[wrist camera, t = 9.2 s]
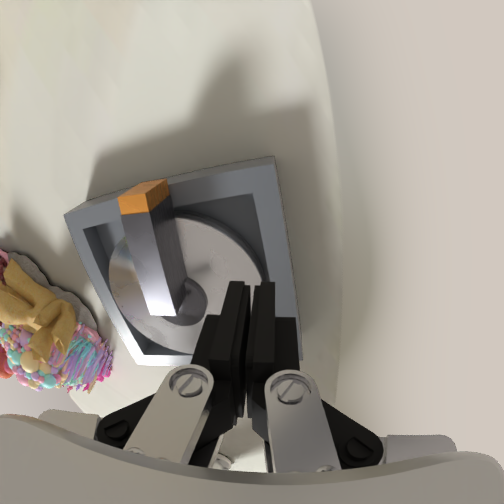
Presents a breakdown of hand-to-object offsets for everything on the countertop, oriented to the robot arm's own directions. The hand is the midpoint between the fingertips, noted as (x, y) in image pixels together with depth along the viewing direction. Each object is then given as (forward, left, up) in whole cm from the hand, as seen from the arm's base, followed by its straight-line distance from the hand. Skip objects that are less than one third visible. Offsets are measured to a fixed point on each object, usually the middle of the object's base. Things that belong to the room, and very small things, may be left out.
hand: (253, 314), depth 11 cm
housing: (-4, +7, -11) cm, 14 cm away
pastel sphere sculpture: (-10, +32, -12) cm, 36 cm away
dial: (-3, +7, -9) cm, 12 cm away
